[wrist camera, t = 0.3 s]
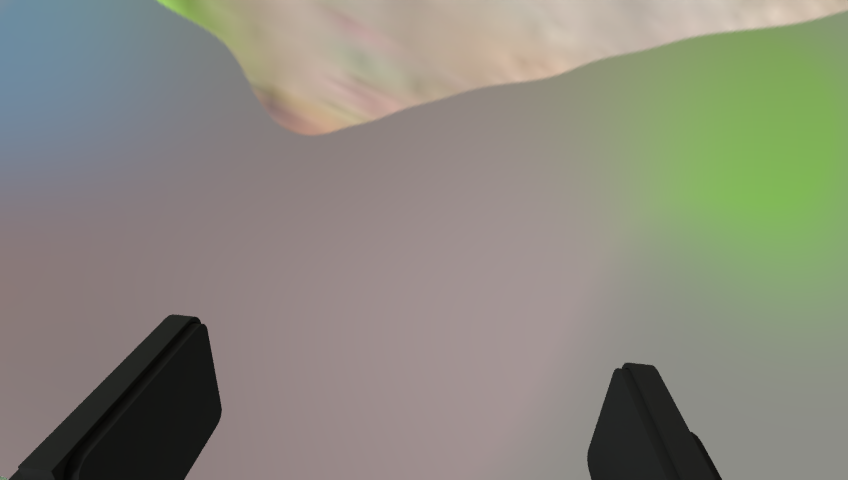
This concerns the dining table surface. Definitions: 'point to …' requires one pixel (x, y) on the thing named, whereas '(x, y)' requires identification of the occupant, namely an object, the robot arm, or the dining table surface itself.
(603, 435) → the robot arm
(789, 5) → the dining table surface
